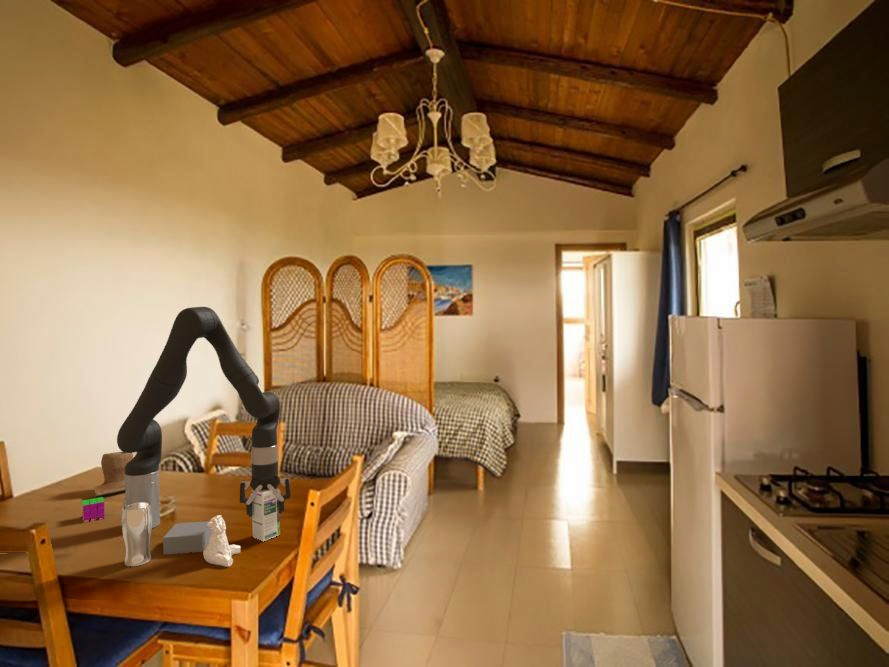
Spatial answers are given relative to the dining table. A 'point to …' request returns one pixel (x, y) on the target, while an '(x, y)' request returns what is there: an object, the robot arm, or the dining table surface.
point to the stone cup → (113, 473)
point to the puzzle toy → (93, 508)
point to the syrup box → (265, 515)
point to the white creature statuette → (219, 544)
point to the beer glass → (137, 532)
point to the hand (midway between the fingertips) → (265, 514)
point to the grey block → (186, 538)
